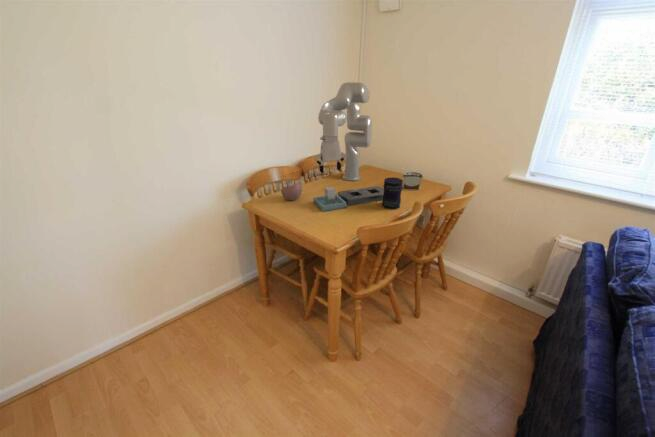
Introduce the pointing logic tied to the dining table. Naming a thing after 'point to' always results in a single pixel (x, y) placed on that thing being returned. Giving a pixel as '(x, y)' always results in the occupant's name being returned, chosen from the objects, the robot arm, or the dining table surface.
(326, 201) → the steel block
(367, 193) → the grey block with hole
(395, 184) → the storage jar
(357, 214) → the dining table surface
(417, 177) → the food container
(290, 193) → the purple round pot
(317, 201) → the parts tray
